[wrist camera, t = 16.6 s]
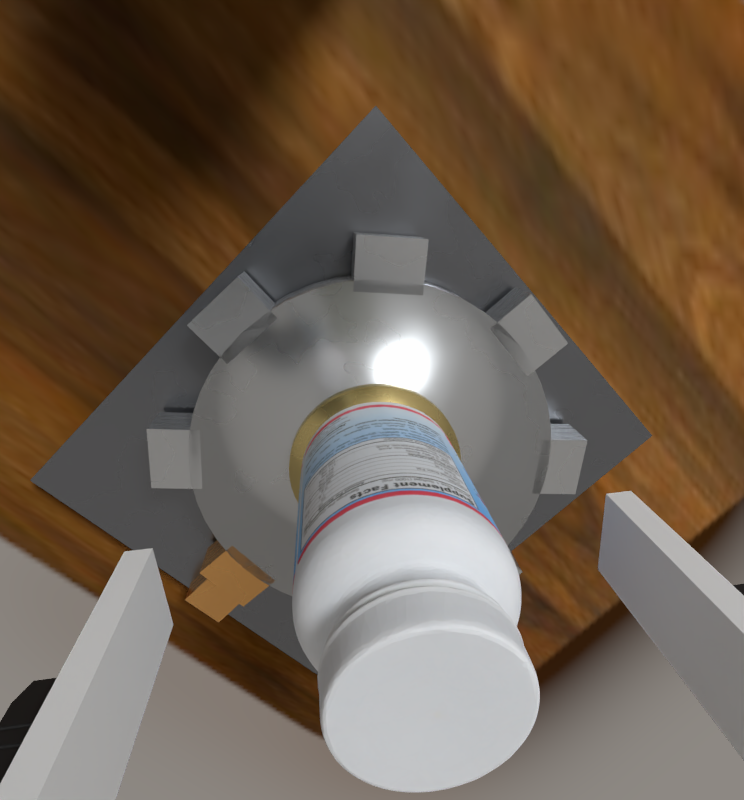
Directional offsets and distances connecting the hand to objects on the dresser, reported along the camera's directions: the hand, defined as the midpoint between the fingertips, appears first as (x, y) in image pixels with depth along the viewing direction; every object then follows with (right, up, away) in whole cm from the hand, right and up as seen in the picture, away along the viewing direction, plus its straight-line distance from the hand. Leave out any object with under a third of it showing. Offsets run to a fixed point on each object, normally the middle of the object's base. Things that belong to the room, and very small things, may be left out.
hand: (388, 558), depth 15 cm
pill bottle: (0, +2, +6) cm, 6 cm away
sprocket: (-1, +3, +8) cm, 9 cm away
